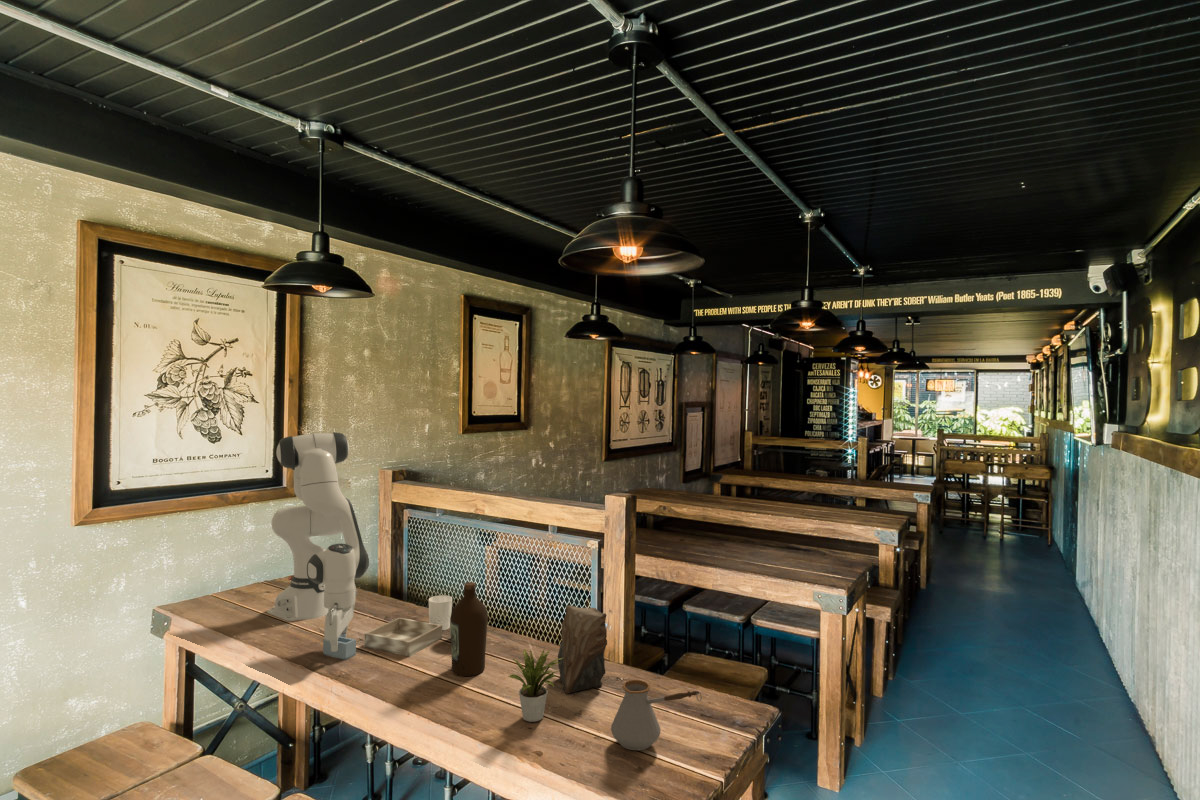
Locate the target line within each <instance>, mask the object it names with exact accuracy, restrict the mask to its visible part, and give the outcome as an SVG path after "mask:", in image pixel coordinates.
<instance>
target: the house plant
mask: <svg viewBox="0 0 1200 800" xmlns="http://www.w3.org/2000/svg"><path fill="white" fill-rule="evenodd" d="M550 651H551V650H548V651H547V652H545V649H543V651H542V652H541V654H540V655H539V657H538V659H537V661H536V663H535V660H534V657H533V652H532V649H530V650H529V654H528V651H527V650H526V649H524V648H523V659H524V661H522V662H524V666H523V665H522V664H521V662H520V661H518V660H517V659H516V658H512V660H513V661H514V662H515V663H516V665H517V666H518V667H519V668H518V667H517V666H515V668H517V670H520V673H521V675H522V676H523V677H524V679H525V680H524V679H523V678H522V677H521V676H519V675H517V674H510V675H508V678H512V679H515V680H518V681H520V682H521V683H522V685H521V686H522V687H521V688H520V689H519V690H518V696H519V701H520V708H521V714H522V719H523V720H524V721H526V722H529V723H530V722H538V721H541V720H542V719H543V718H544V714H545V708H546V702H547V696H548V691H549V690H548V688H546V687H545V686H546V685H547V684H548V685H551V686H552V687H553V688H555V685H554V683H553V681H551V680H549V679H552V678H555V677H557V675H556V673H560V671H559V670H558V671H552V670H549V669H550V668H551V667H552V668H555V666H554V665H558V664H559V662H558V660H560V659H563V658H559V659H558V658H556V659H554V660H552V661H550V662H549V663H548V664H547V665H545V663H546V662H547V658H548V655H549V654H550ZM544 665H545V666H544ZM547 674H548V675H547ZM544 676H545V677H544Z"/></svg>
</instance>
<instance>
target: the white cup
mask: <svg viewBox="0 0 1200 800" xmlns="http://www.w3.org/2000/svg"><path fill="white" fill-rule="evenodd" d="M452 605H453V597H452V596H449V595H445V594H444V595H435V596H431V597H429V598H428V619H429V623H432V624H438V625H442V631H446V630H448V629H449V630H450V616H451V613H452V610H453V606H452Z"/></svg>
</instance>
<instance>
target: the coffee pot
mask: <svg viewBox="0 0 1200 800" xmlns="http://www.w3.org/2000/svg"><path fill="white" fill-rule="evenodd" d="M622 689H623V690H624V696H623V698H622V701H621V703H620V705H619V707H618V710H617V712H616V713H615V716H614V718H613V720H612V722H611V726H610V730H611V734H612V736H613V738H614V740H616V742H617V743H619V744H620V746H621V747H623V748H624V749H626V750H632V751H643V750H646V749H649V748H650V747H651V746H652V745H653V744H654V743H656V742H657V740H658V739H659V737H660V735H661V726H660V724H659V721H658V718H657V716H656V714H655V712H654V709H653V706H652V704H656V703H660V702H665V701H666V702H667V701H674V700H675V701H676V700H682V699H684V698H687V697H688V698H691V697H693V696H696V700H697V701H698V702H701V701H702V694H701V692H700V691H699V690H693V691H690V690H688V691H687V692H677V693H674V694H670V695H665V696H663V697H662V696H661V697H655V698H649V695H648V693H649V691H650V690H651V685H650V683H648V682H647V681H645V680H642V679H629V680H626V681H625V682H623V684H622ZM698 695H700V700H699V698H698Z"/></svg>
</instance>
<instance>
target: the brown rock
mask: <svg viewBox="0 0 1200 800" xmlns="http://www.w3.org/2000/svg"><path fill="white" fill-rule="evenodd" d="M564 615H565V616H564V619H563V620H562V624H561V638H562V641H561V642H560V645H559V649H558V653H557V659H559V658H563V659H560V660H557V662H559V664H557V665H558V666H557V667H558V671H559V679H560V681H561V682H560V683H562V688H563V690H564V692H565V693H566V695H567V694H572V693H575V692H580V691H583V690H589V689H591V688H598V687H600V686H602V685H603V681H602V679H603V678H604V676H605V674H606V666H605V663H606V659H605V657H604V656H605V651H606V649H607V648H606V647H607V645H608V640H607V628H606V626H607V625H606V620H607V614H606V613H603V612H601V611H599V610H598V609H597V608H596V607H579V606H578V607H577V606H576V605H569V604H568V605H566V607H565V614H564Z"/></svg>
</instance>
